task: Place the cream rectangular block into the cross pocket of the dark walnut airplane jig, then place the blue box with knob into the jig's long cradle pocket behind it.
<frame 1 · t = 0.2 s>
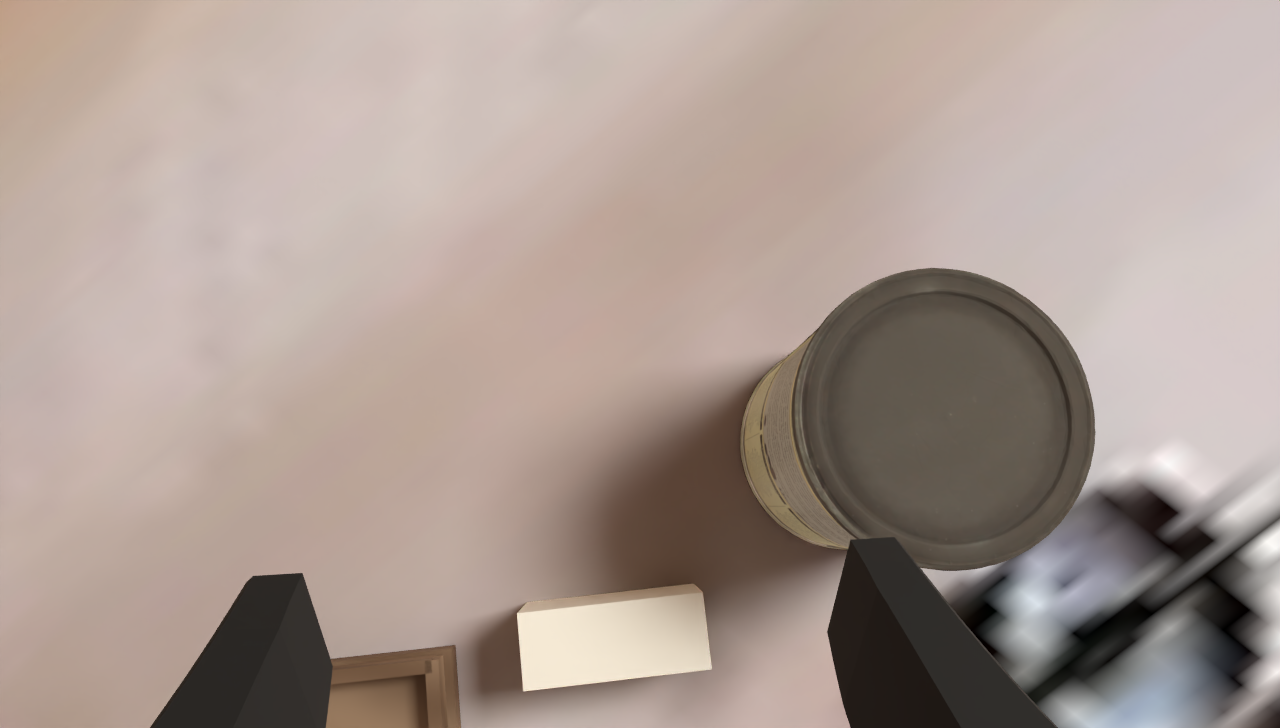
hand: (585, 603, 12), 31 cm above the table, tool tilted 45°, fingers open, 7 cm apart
cream rectangular block: (613, 626, 42), on the table
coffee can: (839, 444, 44), on the table
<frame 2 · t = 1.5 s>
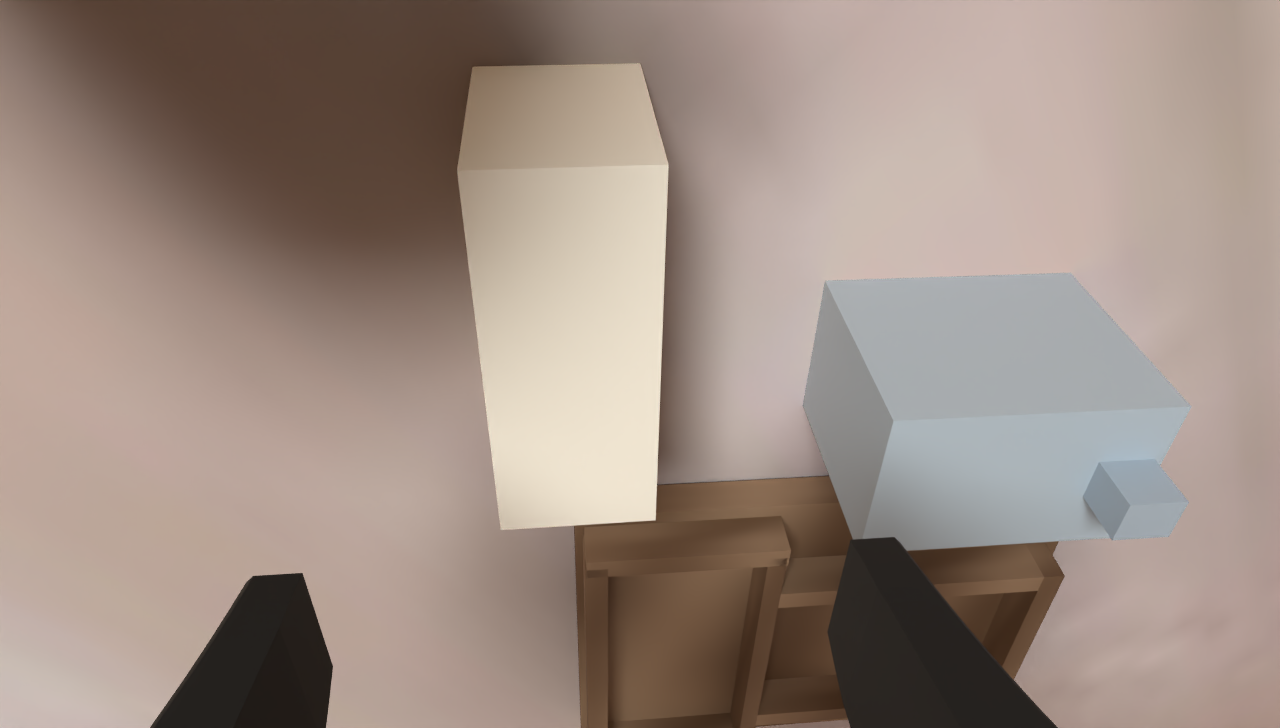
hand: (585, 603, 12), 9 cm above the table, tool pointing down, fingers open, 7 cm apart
jig: (799, 600, 28), on the table
cream rectangular block: (564, 244, 20), on the table
blue box with knob: (930, 339, 22), on the table
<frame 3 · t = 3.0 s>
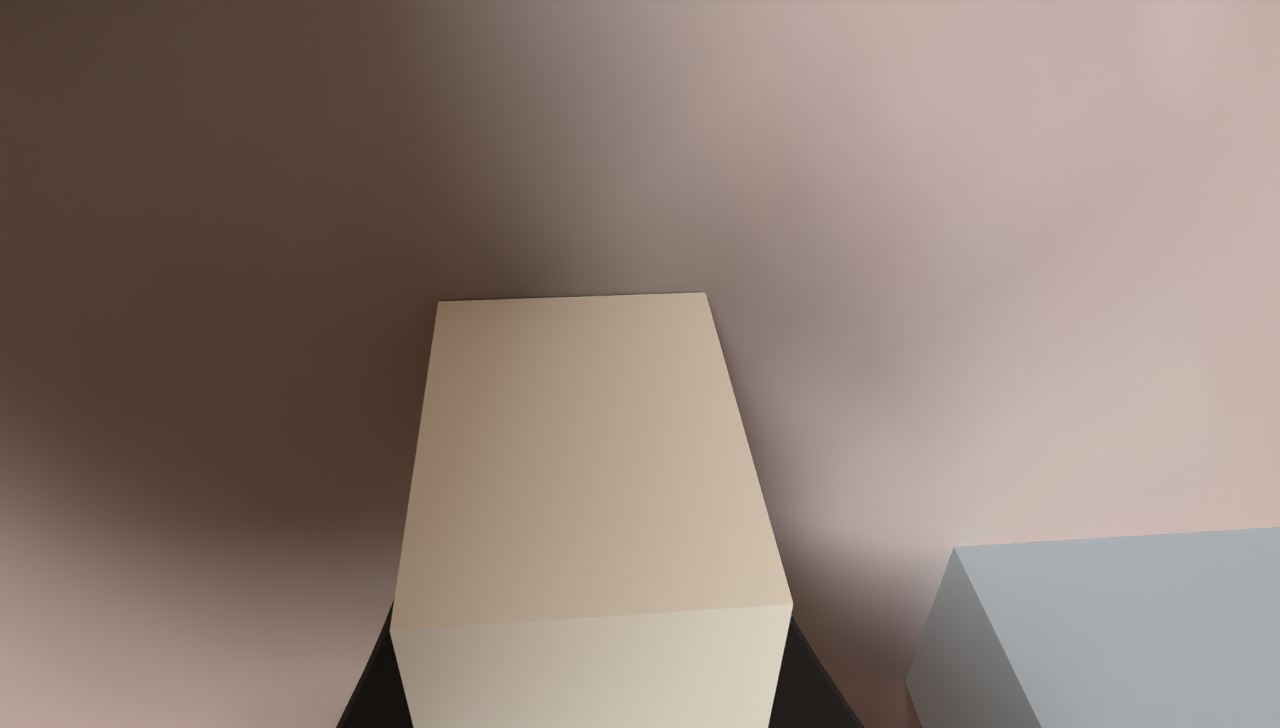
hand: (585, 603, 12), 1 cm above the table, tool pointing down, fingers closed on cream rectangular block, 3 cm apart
cream rectangular block: (579, 523, 13), on the table, touching gripper
blue box with knob: (1088, 604, 16), on the table
when the fingers open (3 cm above the table, at t = 5.8 s): cream rectangular block stays where it is, resting on jig.
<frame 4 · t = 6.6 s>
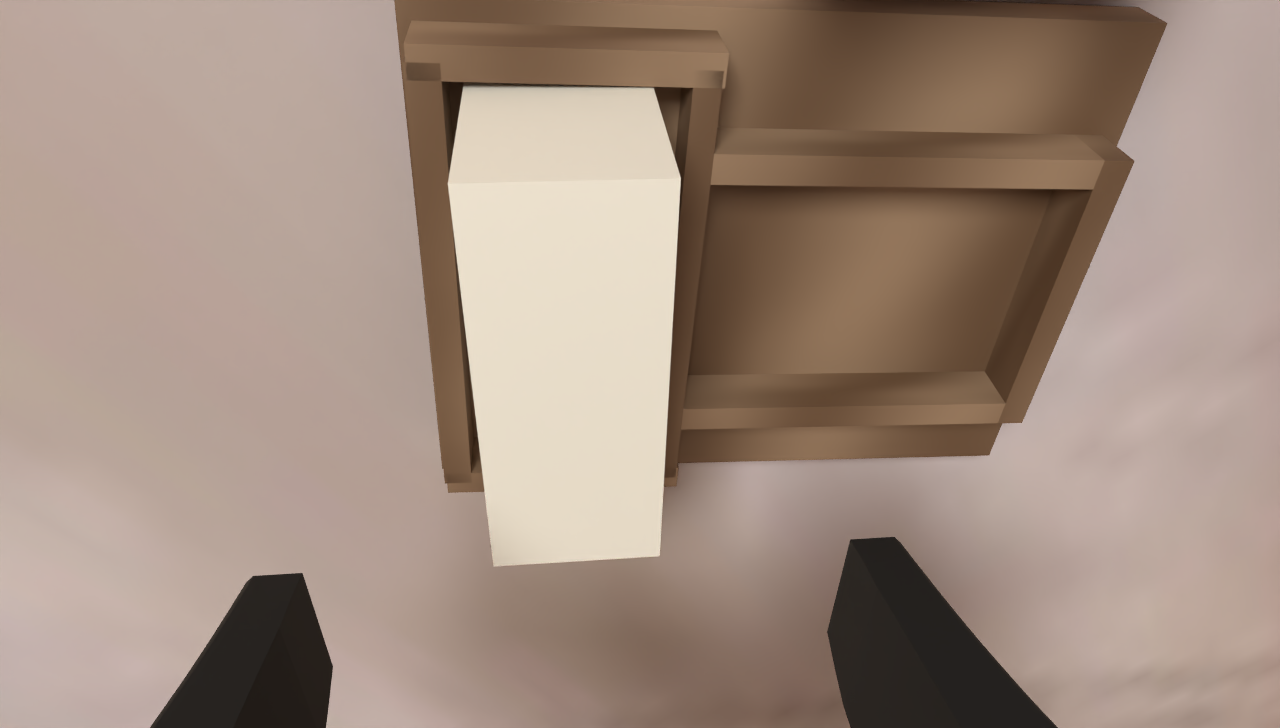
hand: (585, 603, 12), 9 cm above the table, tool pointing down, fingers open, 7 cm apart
jig: (747, 251, 20), on the table
cream rectangular block: (563, 258, 18), point 1 cm above the table, touching jig
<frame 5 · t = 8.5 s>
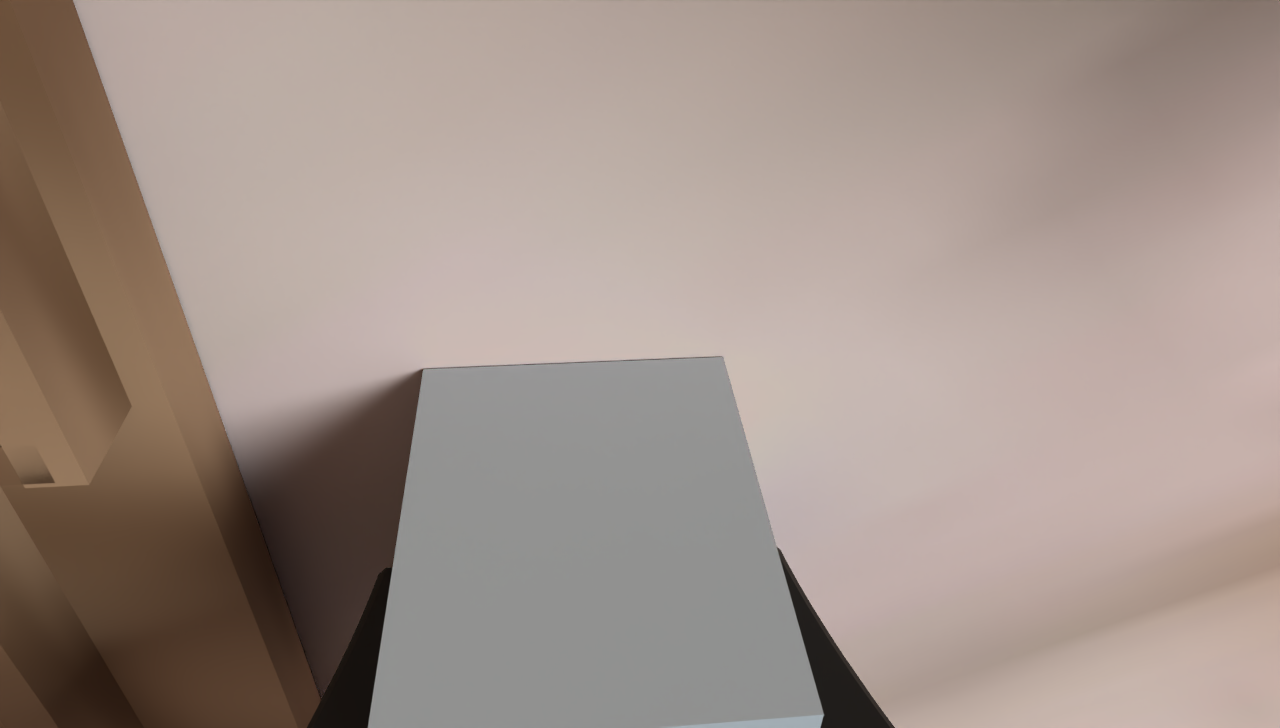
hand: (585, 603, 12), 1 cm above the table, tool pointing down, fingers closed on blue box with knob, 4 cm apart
blue box with knob: (579, 523, 13), on the table, touching gripper
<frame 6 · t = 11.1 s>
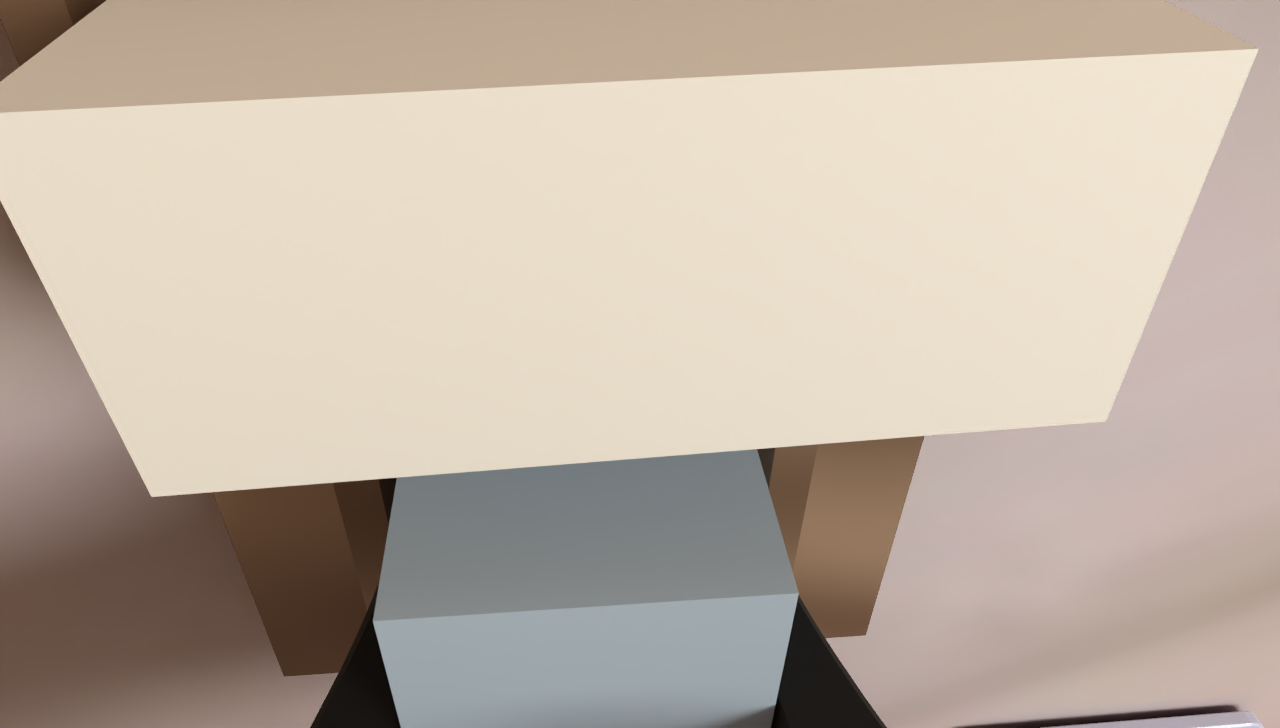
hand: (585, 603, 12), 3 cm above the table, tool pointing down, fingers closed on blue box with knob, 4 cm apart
jig: (572, 322, 13), on the table
cream rectangular block: (602, 73, 10), point 1 cm above the table, touching jig
blue box with knob: (575, 460, 14), point 1 cm above the table, touching gripper, jig
when the fingers open (3 cm above the table, at t = 11.3 s): blue box with knob stays where it is, resting on jig.
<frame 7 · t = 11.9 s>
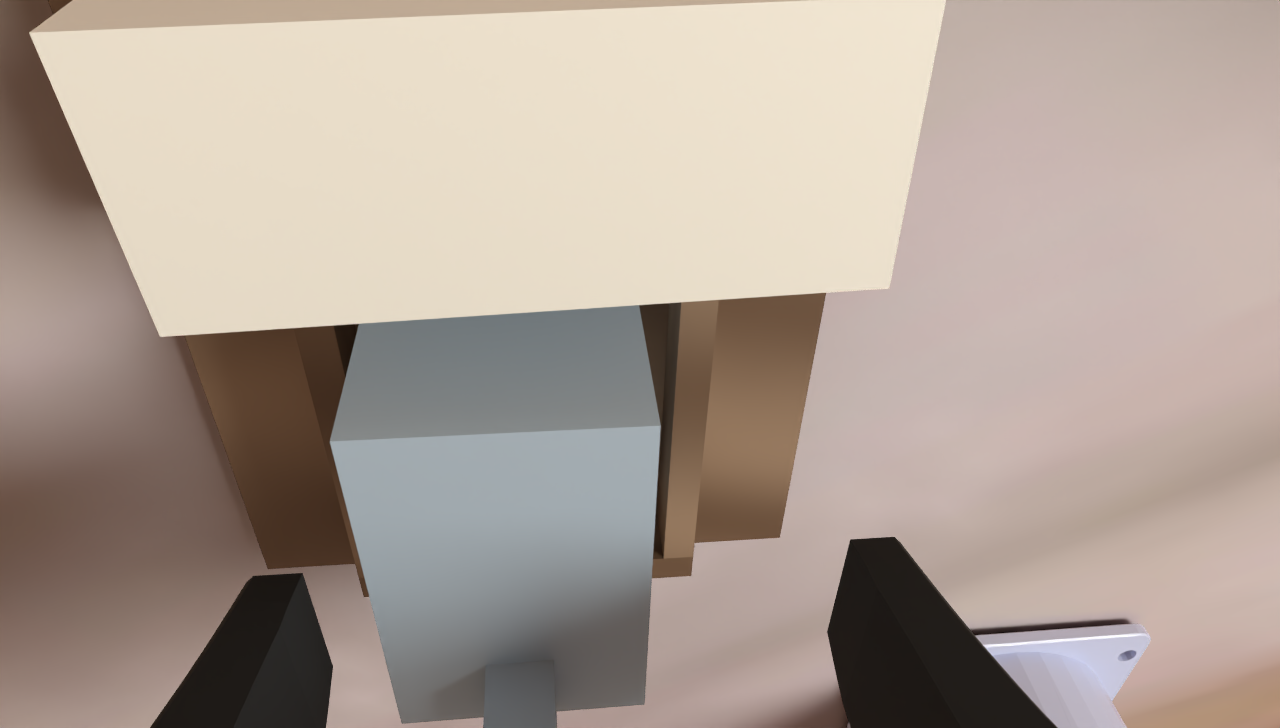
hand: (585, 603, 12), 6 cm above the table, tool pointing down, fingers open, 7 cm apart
jig: (511, 248, 16), on the table
cream rectangular block: (522, 29, 12), point 1 cm above the table, touching jig
blue box with knob: (515, 368, 16), point 1 cm above the table, touching jig
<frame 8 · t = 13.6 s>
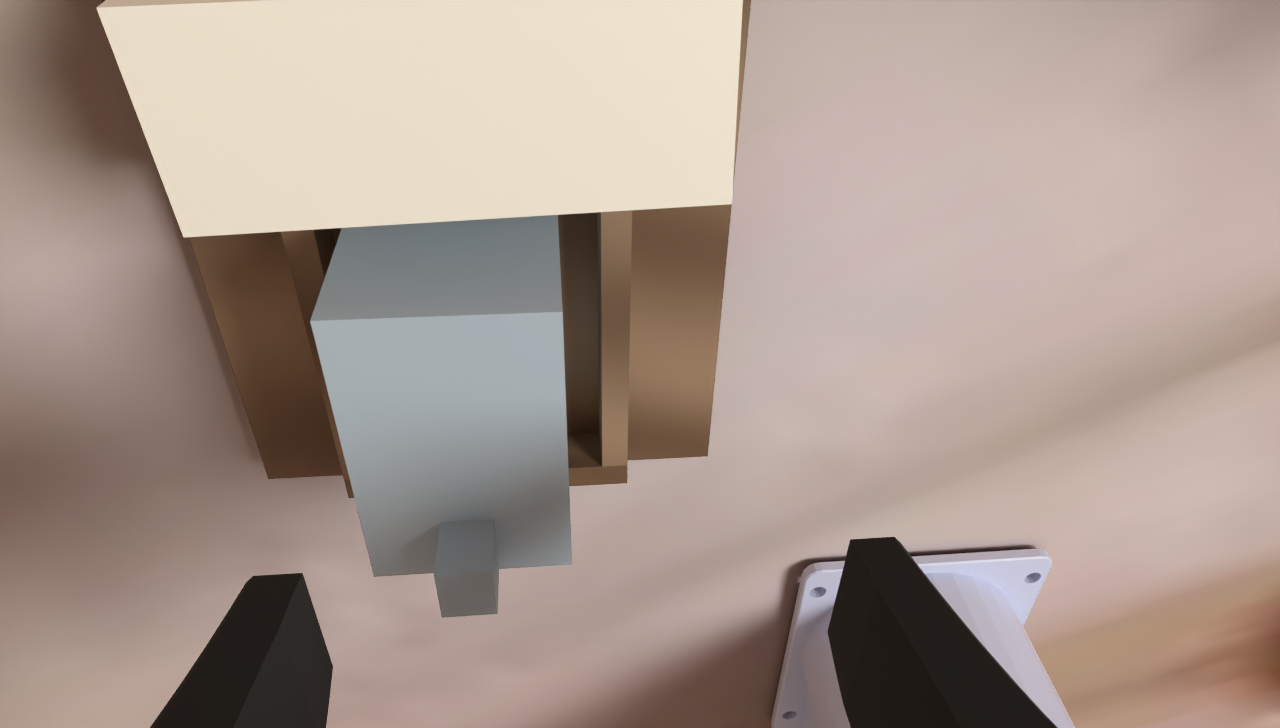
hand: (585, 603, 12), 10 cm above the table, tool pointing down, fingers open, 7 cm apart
jig: (468, 198, 19), on the table
cream rectangular block: (466, 14, 16), point 1 cm above the table, touching jig
blue box with knob: (472, 299, 19), point 1 cm above the table, touching jig
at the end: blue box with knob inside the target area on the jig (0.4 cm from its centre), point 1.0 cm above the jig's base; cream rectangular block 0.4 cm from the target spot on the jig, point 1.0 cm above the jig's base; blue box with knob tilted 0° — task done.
